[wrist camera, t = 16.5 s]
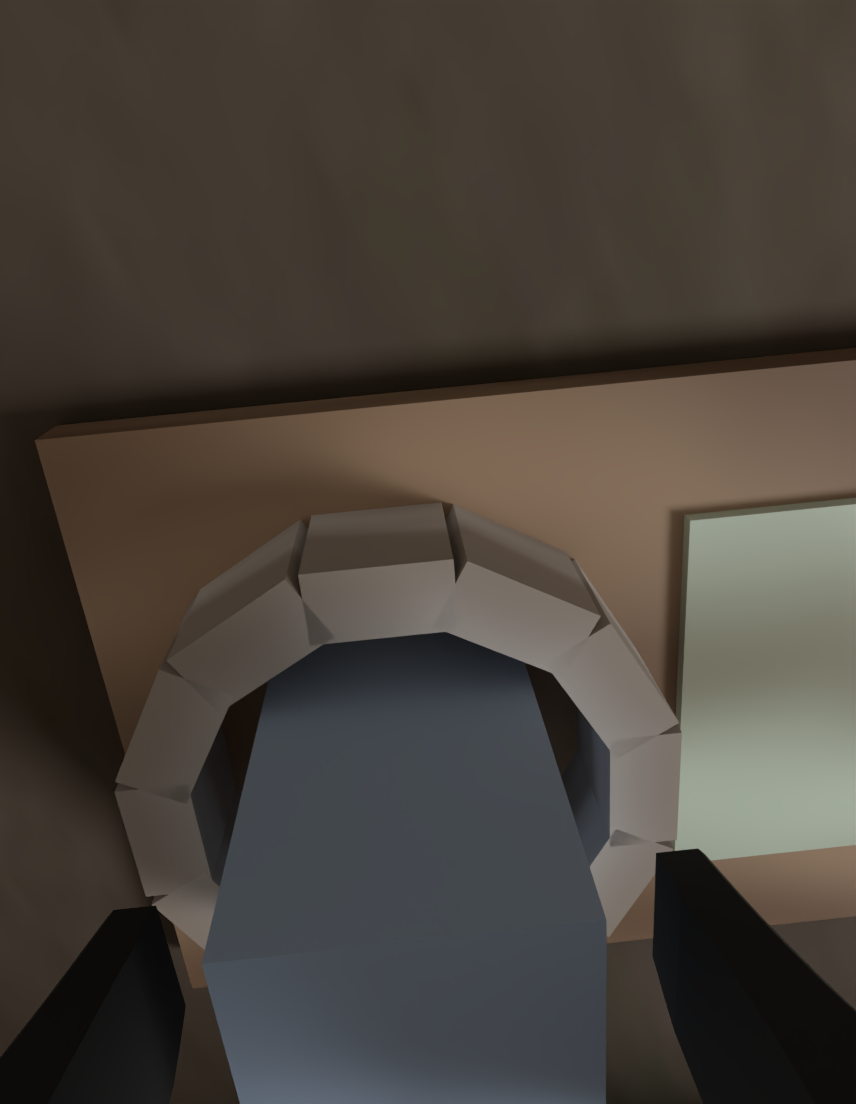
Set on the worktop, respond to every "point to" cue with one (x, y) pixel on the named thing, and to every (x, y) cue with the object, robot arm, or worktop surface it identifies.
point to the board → (490, 461)
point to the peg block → (407, 891)
